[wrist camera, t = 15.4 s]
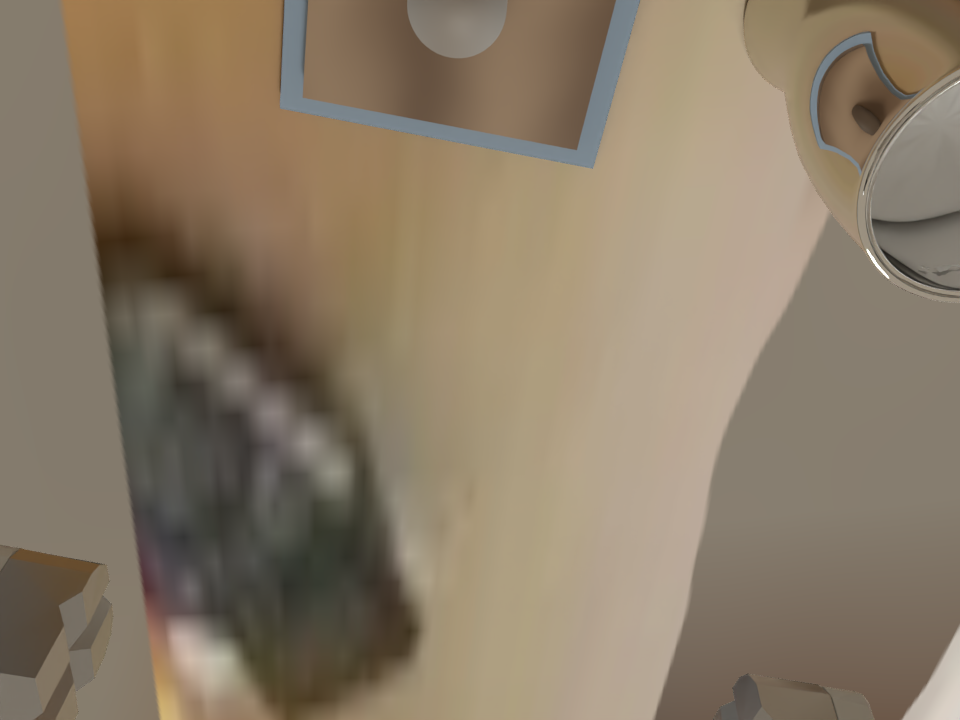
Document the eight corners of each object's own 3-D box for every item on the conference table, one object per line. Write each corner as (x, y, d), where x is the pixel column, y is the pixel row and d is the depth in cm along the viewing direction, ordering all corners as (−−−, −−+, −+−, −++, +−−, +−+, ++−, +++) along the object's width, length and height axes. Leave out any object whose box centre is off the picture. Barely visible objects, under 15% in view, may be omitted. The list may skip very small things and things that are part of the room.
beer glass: (746, -89, 30) (891, 33, 18) (949, -92, 30) (1234, 31, 18) (718, 105, 34) (820, 309, 22) (895, 104, 34) (1097, 312, 22)
